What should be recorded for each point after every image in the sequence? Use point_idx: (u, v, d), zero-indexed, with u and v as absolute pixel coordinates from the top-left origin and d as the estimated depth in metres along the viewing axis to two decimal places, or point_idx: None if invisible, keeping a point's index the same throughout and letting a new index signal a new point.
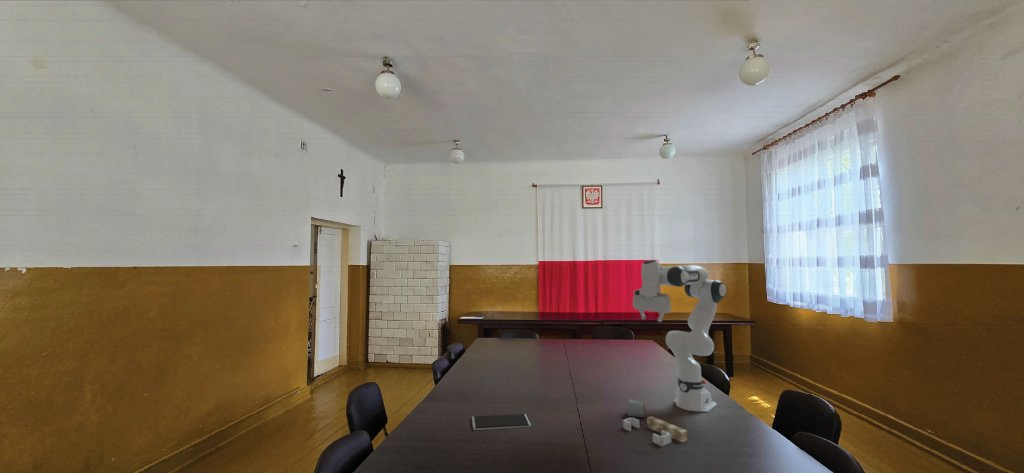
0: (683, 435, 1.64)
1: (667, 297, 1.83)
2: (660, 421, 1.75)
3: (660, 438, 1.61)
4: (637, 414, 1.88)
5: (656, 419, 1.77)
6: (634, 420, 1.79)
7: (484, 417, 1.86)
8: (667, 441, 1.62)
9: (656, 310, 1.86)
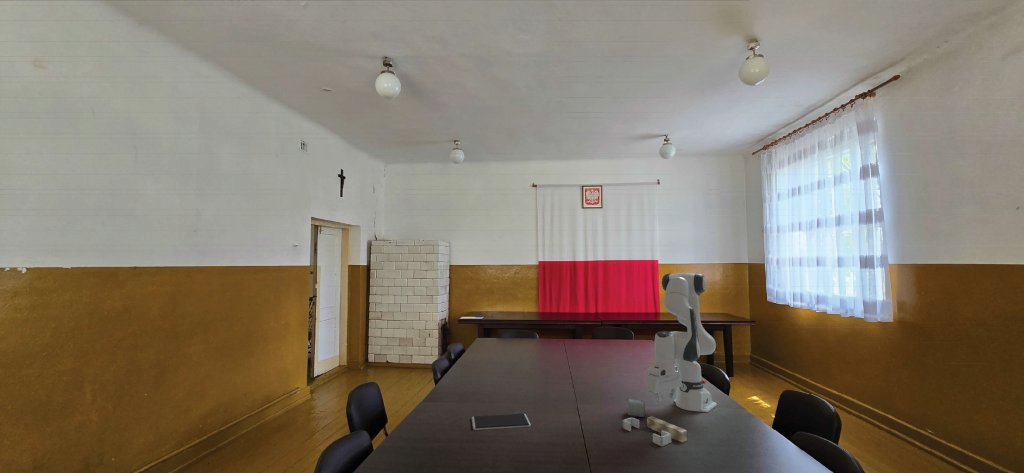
0: (683, 435, 1.64)
1: (678, 369, 1.78)
2: (660, 421, 1.75)
3: (660, 438, 1.61)
4: (637, 414, 1.88)
5: (656, 419, 1.77)
6: (634, 420, 1.79)
7: (484, 417, 1.86)
8: (667, 441, 1.62)
9: (674, 386, 1.74)
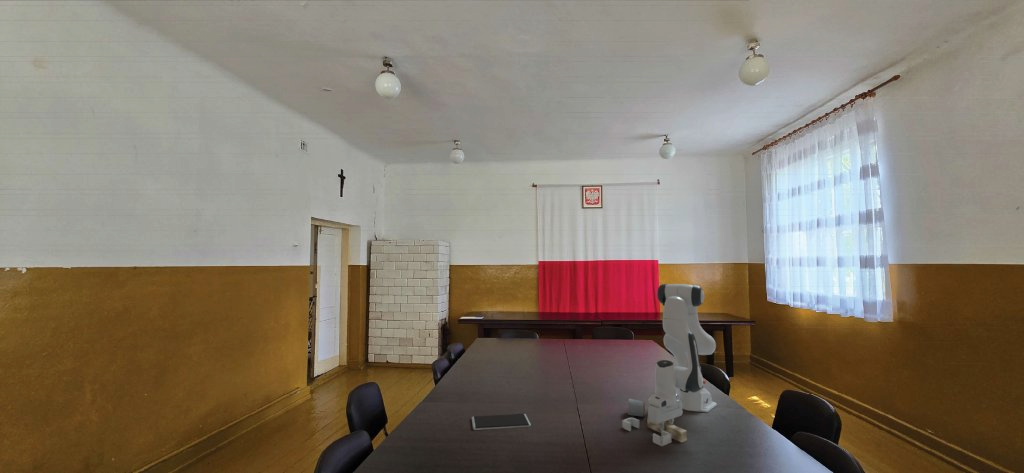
0: (682, 435, 1.64)
1: (679, 398, 1.78)
2: None
3: (660, 438, 1.61)
4: (637, 413, 1.89)
5: None
6: (634, 420, 1.79)
7: (484, 417, 1.86)
8: (667, 441, 1.62)
9: (675, 416, 1.73)
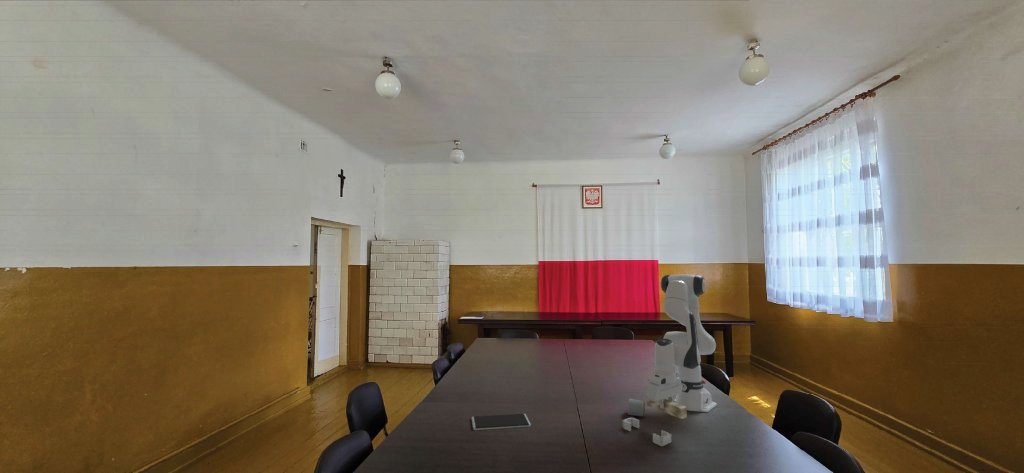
0: (682, 411, 1.65)
1: (678, 376, 1.79)
2: None
3: (660, 438, 1.61)
4: (637, 413, 1.89)
5: None
6: (634, 420, 1.79)
7: (484, 417, 1.86)
8: (667, 441, 1.62)
9: (674, 393, 1.74)
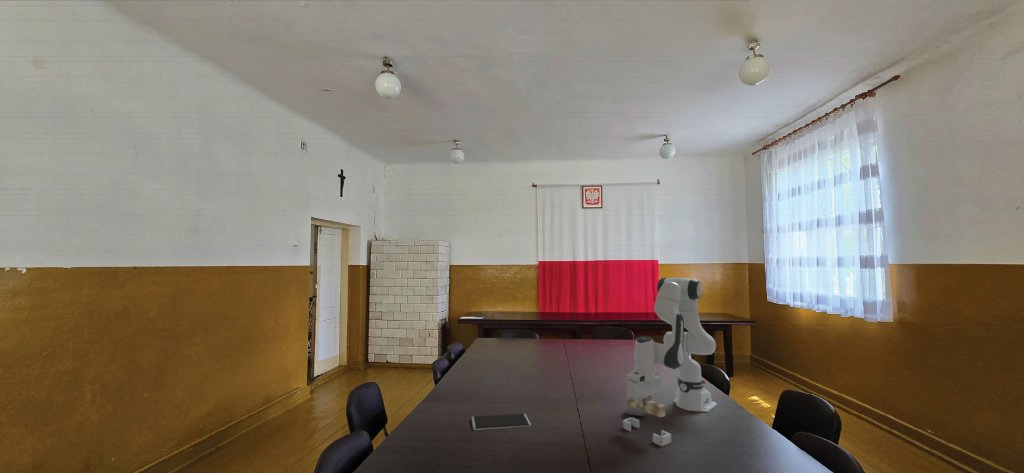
0: (661, 409, 1.63)
1: (659, 375, 1.77)
2: None
3: (660, 438, 1.61)
4: (637, 413, 1.89)
5: None
6: (634, 420, 1.79)
7: (484, 417, 1.86)
8: (667, 441, 1.62)
9: (654, 392, 1.72)
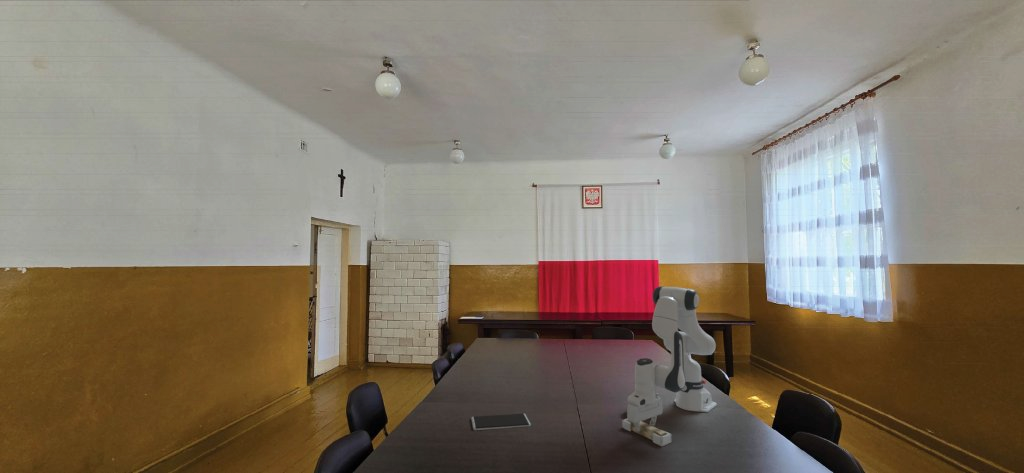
0: None
1: (659, 396, 1.76)
2: (640, 422, 1.73)
3: (660, 438, 1.61)
4: None
5: None
6: None
7: (484, 417, 1.86)
8: (667, 441, 1.62)
9: (655, 414, 1.72)
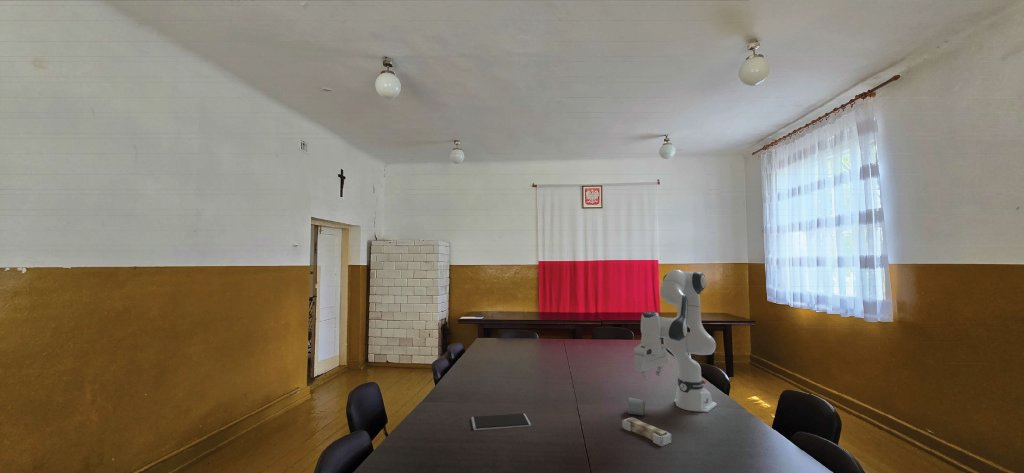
0: None
1: (664, 347, 1.82)
2: (639, 422, 1.73)
3: (660, 438, 1.61)
4: (637, 412, 1.91)
5: (635, 420, 1.75)
6: None
7: (484, 417, 1.86)
8: (667, 441, 1.62)
9: (661, 364, 1.78)
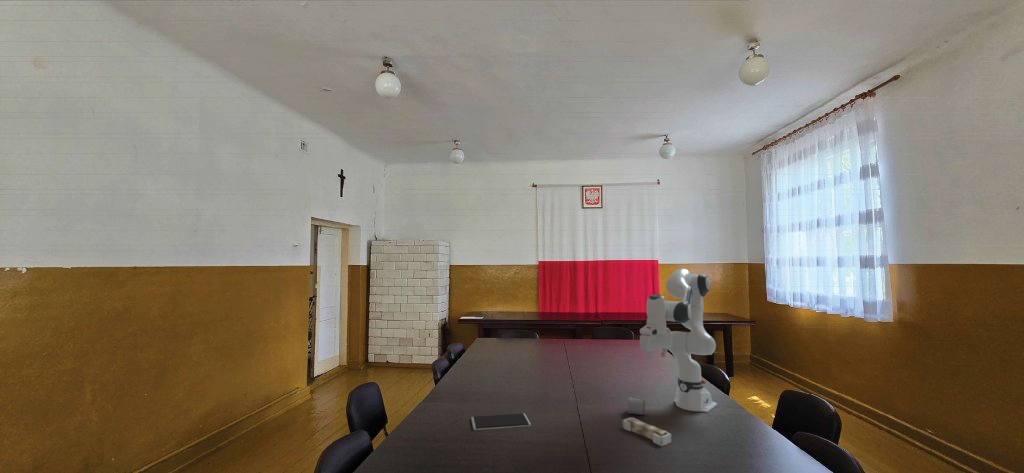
0: None
1: (669, 331, 1.88)
2: (639, 422, 1.73)
3: (660, 438, 1.61)
4: (637, 411, 1.91)
5: (635, 421, 1.75)
6: None
7: (483, 417, 1.86)
8: (667, 441, 1.62)
9: (665, 346, 1.83)
